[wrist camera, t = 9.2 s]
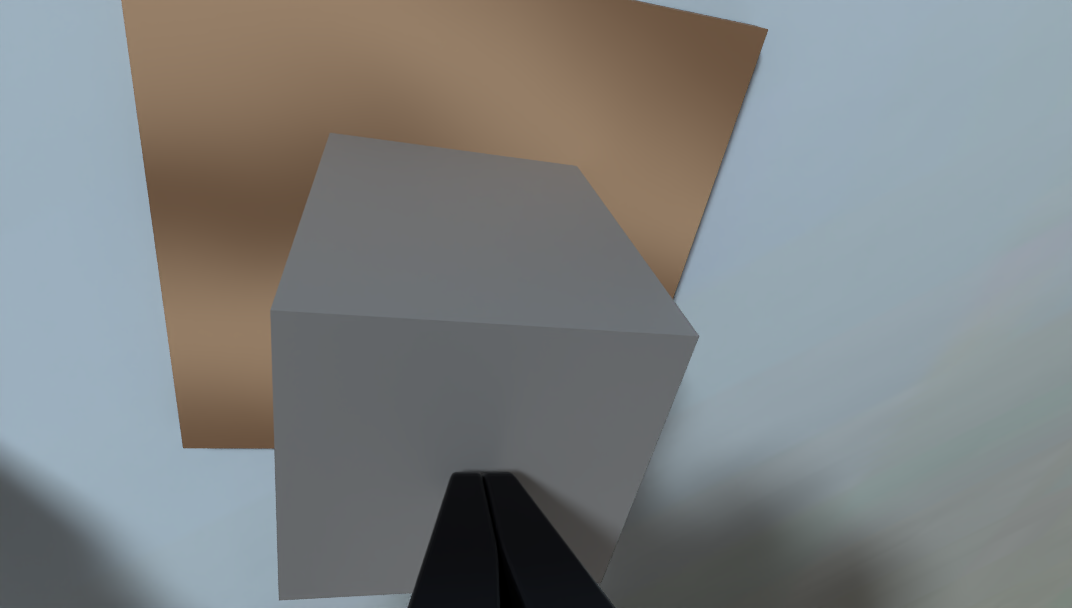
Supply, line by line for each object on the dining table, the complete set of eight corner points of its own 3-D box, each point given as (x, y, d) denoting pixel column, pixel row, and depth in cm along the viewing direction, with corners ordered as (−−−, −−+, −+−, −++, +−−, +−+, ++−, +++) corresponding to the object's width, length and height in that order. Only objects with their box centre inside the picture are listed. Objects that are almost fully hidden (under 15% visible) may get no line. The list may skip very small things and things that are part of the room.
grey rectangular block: (532, 355, 16) (601, 582, 10) (325, 344, 15) (278, 600, 9) (577, 166, 13) (698, 336, 8) (330, 132, 12) (270, 310, 7)
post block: (613, 435, 19) (682, 602, 14) (189, 431, 16) (102, 642, 11) (754, 25, 13) (949, 83, 8) (121, -109, 10) (-125, -134, 5)
